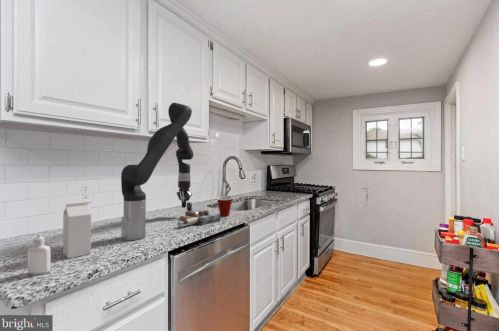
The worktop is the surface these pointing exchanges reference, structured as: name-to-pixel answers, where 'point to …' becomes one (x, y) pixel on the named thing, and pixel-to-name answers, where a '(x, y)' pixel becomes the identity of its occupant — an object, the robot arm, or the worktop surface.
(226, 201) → the plastic cup
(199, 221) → the lock plate
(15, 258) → the worktop surface
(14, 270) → the worktop surface
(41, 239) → the eye dropper bottle
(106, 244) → the worktop surface
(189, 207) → the bolt
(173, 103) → the robot arm
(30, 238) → the worktop surface
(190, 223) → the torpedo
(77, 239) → the milk carton
